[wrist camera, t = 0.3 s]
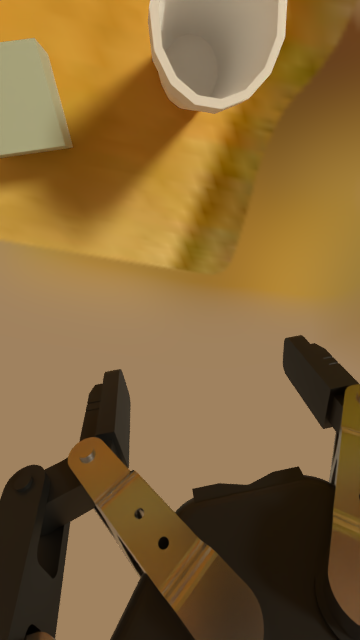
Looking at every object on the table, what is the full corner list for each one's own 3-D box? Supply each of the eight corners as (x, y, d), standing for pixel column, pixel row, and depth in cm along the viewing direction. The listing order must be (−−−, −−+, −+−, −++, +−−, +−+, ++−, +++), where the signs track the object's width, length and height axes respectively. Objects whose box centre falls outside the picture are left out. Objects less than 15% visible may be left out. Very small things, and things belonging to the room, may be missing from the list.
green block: (-33, 65, 28) (-61, 49, 24) (48, 54, 28) (34, 38, 25) (2, 157, 32) (-17, 157, 28) (73, 147, 32) (64, 145, 29)
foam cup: (163, 139, 33) (176, 127, 22) (130, 35, 28) (125, -49, 17) (240, 107, 32) (295, 79, 21) (220, -4, 28) (276, -116, 17)
